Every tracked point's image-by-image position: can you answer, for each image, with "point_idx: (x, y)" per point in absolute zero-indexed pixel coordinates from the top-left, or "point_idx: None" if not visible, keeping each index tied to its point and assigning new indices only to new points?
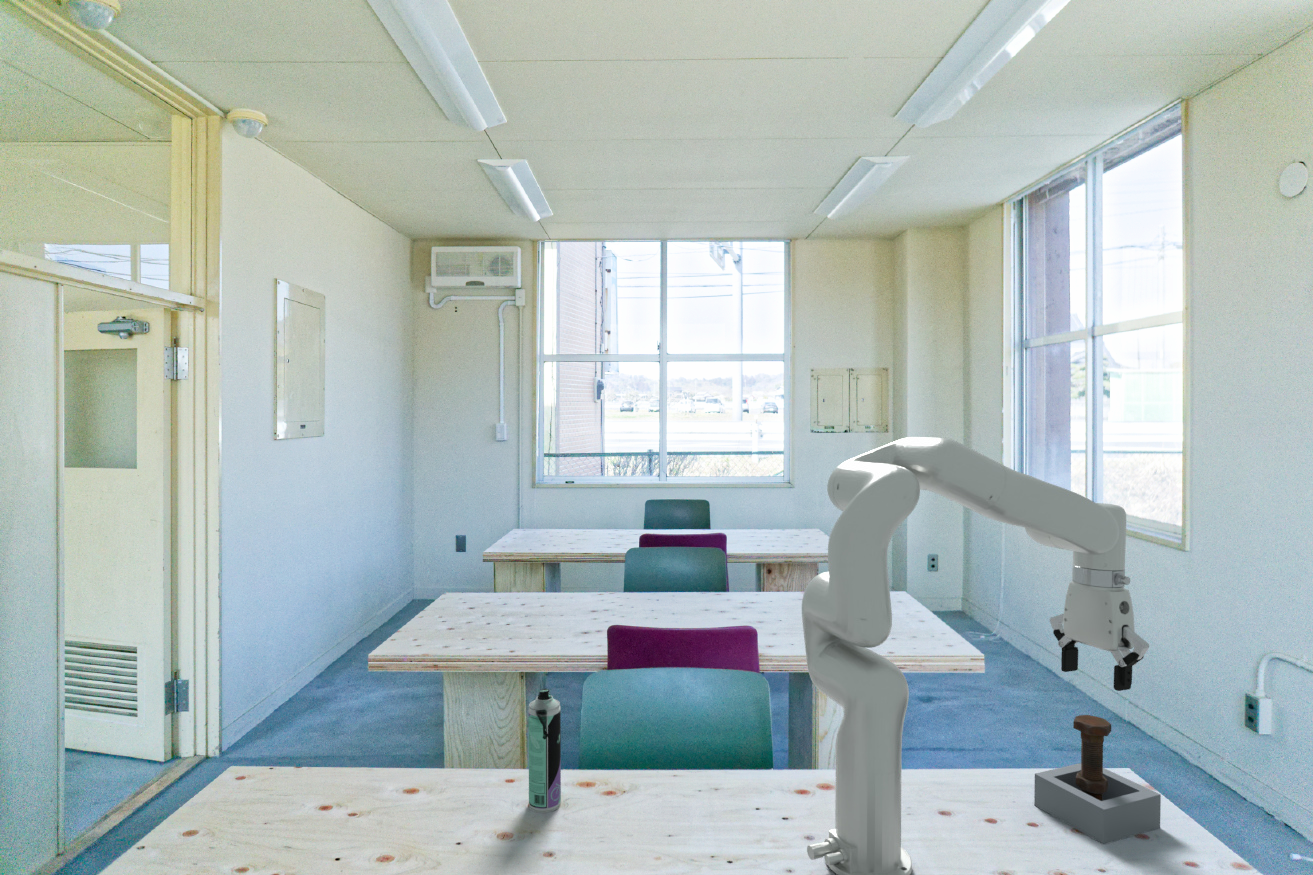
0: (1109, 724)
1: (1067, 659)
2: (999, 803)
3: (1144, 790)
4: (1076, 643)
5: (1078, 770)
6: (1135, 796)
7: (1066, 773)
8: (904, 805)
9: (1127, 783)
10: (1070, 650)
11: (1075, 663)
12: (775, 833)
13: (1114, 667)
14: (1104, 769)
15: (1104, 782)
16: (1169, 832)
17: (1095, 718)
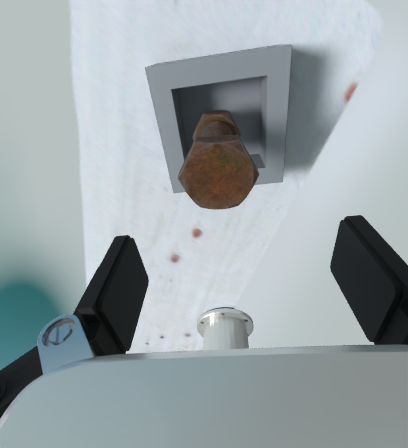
0: (249, 158)
1: (136, 310)
2: (167, 205)
3: (268, 64)
4: (85, 335)
5: (176, 122)
6: (277, 103)
7: (181, 149)
8: (156, 277)
9: (238, 72)
10: (121, 334)
11: (129, 264)
12: (178, 344)
13: (368, 337)
14: (181, 67)
15: (237, 132)
16: (292, 41)
17: (209, 161)
